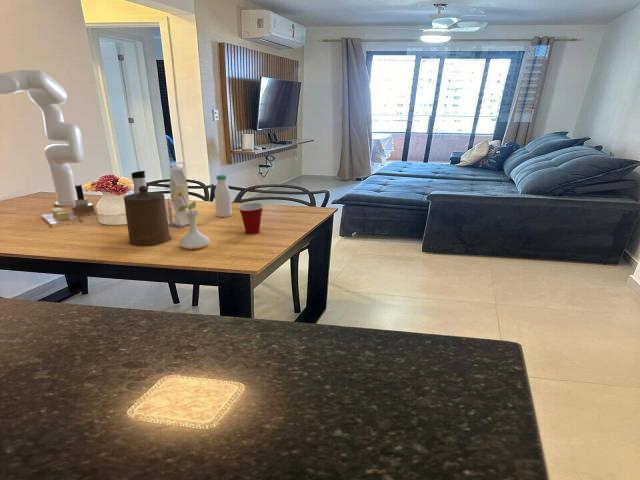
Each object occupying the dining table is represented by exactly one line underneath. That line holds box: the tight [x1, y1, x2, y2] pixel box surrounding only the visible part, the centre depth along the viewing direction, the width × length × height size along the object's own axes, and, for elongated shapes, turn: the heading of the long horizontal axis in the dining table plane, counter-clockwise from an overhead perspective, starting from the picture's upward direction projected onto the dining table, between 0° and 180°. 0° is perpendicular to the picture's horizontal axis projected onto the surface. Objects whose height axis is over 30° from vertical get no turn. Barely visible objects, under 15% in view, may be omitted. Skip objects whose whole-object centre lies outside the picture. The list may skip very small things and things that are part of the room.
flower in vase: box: [169, 184, 211, 250], centre depth 143 cm, size 13×11×25 cm
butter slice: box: [57, 212, 69, 220], centre depth 175 cm, size 2×4×3 cm, turn 135°
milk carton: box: [167, 161, 190, 229], centre depth 171 cm, size 8×8×28 cm
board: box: [41, 210, 82, 225], centre depth 178 cm, size 20×12×2 cm, turn 45°
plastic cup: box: [237, 202, 264, 235], centre depth 164 cm, size 11×11×12 cm
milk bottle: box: [214, 174, 233, 218], centre depth 188 cm, size 8×8×20 cm
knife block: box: [70, 202, 95, 216], centre depth 186 cm, size 5×9×5 cm, turn 135°
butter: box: [51, 207, 66, 218], centre depth 180 cm, size 7×4×3 cm, turn 45°
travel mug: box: [130, 170, 148, 194], centre depth 197 cm, size 6×7×20 cm
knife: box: [75, 184, 88, 207], centre depth 185 cm, size 5×2×15 cm, turn 135°
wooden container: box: [123, 185, 171, 247], centre depth 151 cm, size 15×15×22 cm
